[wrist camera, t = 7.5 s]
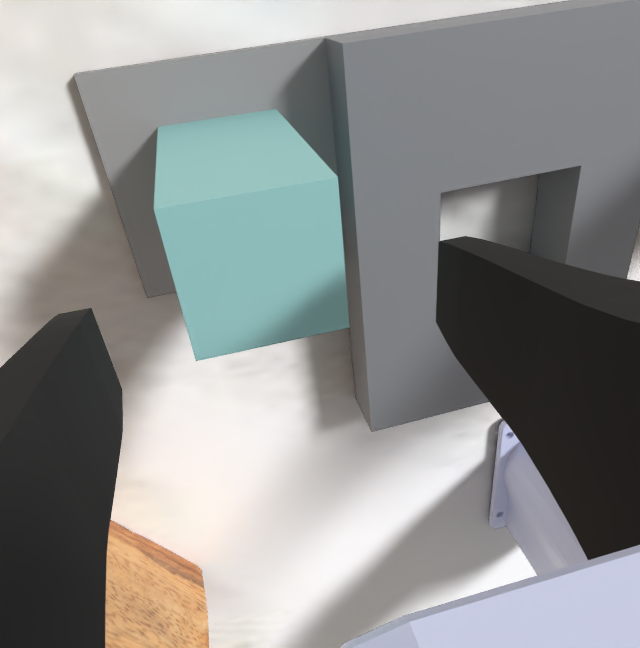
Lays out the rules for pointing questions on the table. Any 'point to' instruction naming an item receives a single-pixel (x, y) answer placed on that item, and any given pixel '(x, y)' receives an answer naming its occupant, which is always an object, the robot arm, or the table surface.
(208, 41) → the table surface
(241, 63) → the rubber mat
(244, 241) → the teal block
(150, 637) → the wooden box
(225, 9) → the table surface
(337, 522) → the table surface
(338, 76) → the pocket board
